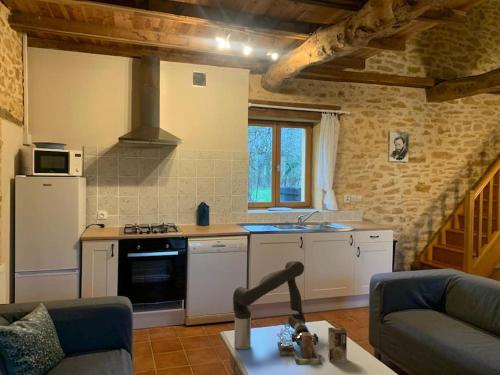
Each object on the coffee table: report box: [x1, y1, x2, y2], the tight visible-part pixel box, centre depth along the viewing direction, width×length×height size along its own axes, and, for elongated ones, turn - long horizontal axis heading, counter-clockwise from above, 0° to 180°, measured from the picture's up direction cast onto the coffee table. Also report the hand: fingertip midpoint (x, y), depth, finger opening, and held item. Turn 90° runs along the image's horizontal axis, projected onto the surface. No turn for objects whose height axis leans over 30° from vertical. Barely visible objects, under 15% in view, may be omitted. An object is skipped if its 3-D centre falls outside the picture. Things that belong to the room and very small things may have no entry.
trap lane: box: [277, 341, 322, 365], centre depth 203 cm, size 20×24×2 cm
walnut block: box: [300, 331, 313, 359], centre depth 197 cm, size 4×4×13 cm
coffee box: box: [327, 327, 348, 364], centre depth 195 cm, size 9×6×16 cm
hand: (307, 343), depth 195 cm, fingers open, 8 cm apart
